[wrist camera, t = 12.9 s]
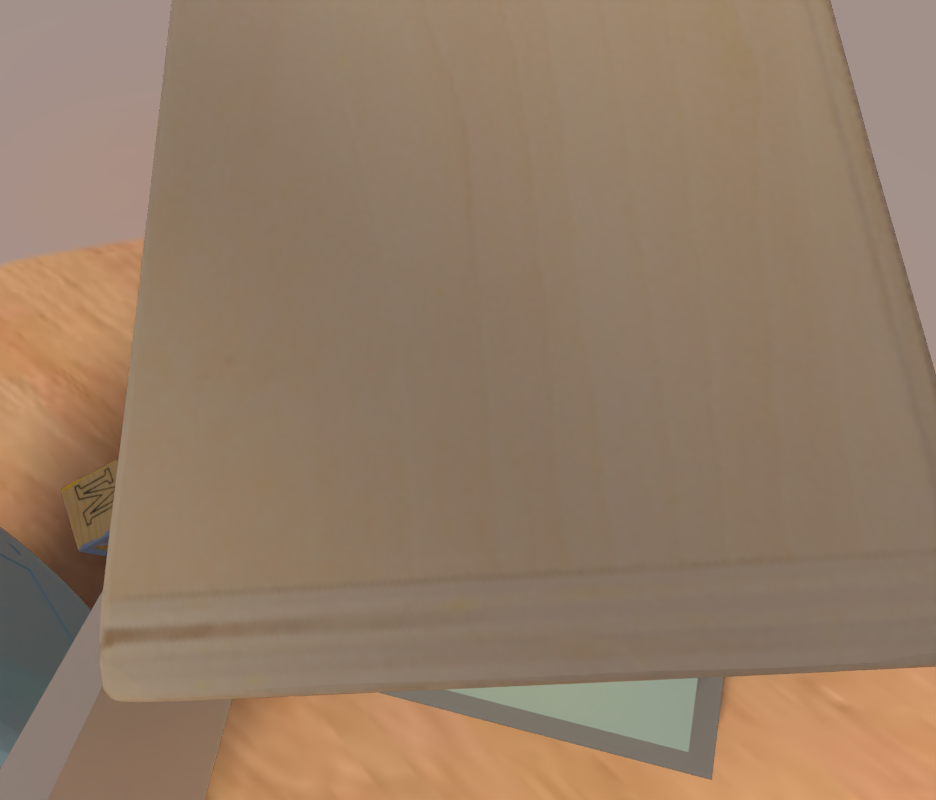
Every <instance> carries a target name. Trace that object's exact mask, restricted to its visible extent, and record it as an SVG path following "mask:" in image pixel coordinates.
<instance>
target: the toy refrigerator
mask: <svg viewBox="0 0 936 800" xmlns="http://www.w3.org/2000/svg"><path fill="white" fill-rule="evenodd" d="M98 658H99V664H100V670H101V676H102V683H103V689H104V690H105V692H106V693H107V694H108V696H109V697H110V698H112V699H114V700H116V701H120V702H170V701H193V700H217V699H240V698H263V697H287V696H310V695H332V694H355V693H377V692H399V691H422V690H444V689H466V688H488V687H511V686H533V685H555V684H577V683H600V682H622V681H643V680H665V679H687V678H708V677H729V676H751V675H772V674H793V673H814V672H835V671H855V670H876V669H896V668H917V667H936V374H935V370H934V367H933V363H932V360H931V356H930V353H929V350H928V346H927V343H926V339H925V335H924V332H923V328H922V325H921V321H920V318H919V314H918V311H917V307H916V304H915V301H914V298H913V294H912V290H911V287H910V283H909V280H908V276H907V273H906V269H905V266H904V262H903V259H902V255H901V252H900V249H899V245H898V242H897V238H896V235H895V231H894V228H893V224H892V221H891V217H890V214H889V211H888V207H887V203H886V200H885V196H884V193H883V190H882V186H881V183H880V179H879V176H878V172H877V169H876V165H875V162H874V158H873V154H872V151H871V147H870V143H869V140H868V136H867V133H866V129H865V125H864V121H863V118H862V115H861V111H860V107H859V104H858V100H857V96H856V93H855V89H854V85H853V82H852V78H851V74H850V71H849V67H848V63H847V60H846V56H845V53H844V49H843V45H842V42H841V38H840V34H839V31H838V27H837V23H836V20H835V16H834V13H833V9H832V5H831V1H830V0H172V4H171V12H170V21H169V30H168V39H167V48H166V57H165V66H164V74H163V84H162V93H161V102H160V110H159V118H158V127H157V136H156V145H155V153H154V162H153V170H152V179H151V188H150V196H149V205H148V214H147V222H146V231H145V240H144V248H143V257H142V266H141V274H140V283H139V292H138V300H137V309H136V318H135V326H134V335H133V343H132V352H131V360H130V368H129V376H128V385H127V393H126V401H125V409H124V418H123V426H122V434H121V442H120V451H119V459H118V467H117V476H116V484H115V492H114V500H113V509H112V517H111V525H110V533H109V542H108V551H107V560H106V569H105V577H104V586H103V595H102V604H101V620H100V636H99V653H98Z"/></svg>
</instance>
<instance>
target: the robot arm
mask: <svg viewBox="0 0 936 800" xmlns="http://www.w3.org/2000/svg"><path fill="white" fill-rule="evenodd" d="M102 595H103V591H102V592H101V594H100V596H99V598H98V599H97V601H96V603H95V605H94V606H93V608H92V610H90V609H89V607H88V606H87V605H86V604H85V603H84V602H83V601H82V600H81V598H80V597H79V596H78V595H77V594H76V593H75V592H74V591H73V590H72V589H71V588H70V587H69V586H68V585H67V584H66V583H65V582H64V581H63V580H62V579H61V578H60V577H59V576H58V575H57V574H56V573H55V572H54V571H53V570H52V569H50V568H49V567H48V566H47V565H46V564H45V563H44V562H43V561H41V560H40V559H39V558H38V557H37V556H36V555H35V554H34V553H32V552H31V551H30V550H29V549H28V548H26V547H25V546H24V545H23V544H22V543H20V542H19V541H18V540H17V539H16V538H14V537H13V536H12V535H10V534H9V533H8V532H7V531H5V530H4V529H3V528H1V527H0V800H205V797H206V793H207V790H208V786H209V782H210V779H211V775H212V771H213V768H214V764H215V760H216V756H217V753H218V749H219V745H220V742H221V738H222V734H223V731H224V727H225V723H226V720H227V716H228V712H229V709H230V705H231V700H230V699H217V700H193V701H170V702H120V701H116V700H114V699H112V698H110V697H109V696H108V694H107V693H106V692H105V690H104V689H103V683H102V676H101V670H100V664H99V658H98V653H99V636H100V620H101V604H102Z"/></svg>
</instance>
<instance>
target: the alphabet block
mask: <svg viewBox="0 0 936 800" xmlns="http://www.w3.org/2000/svg"><path fill="white" fill-rule="evenodd" d="M117 467H118V459H117V460H114V461H112V462H110V463H109V464H107V465H105V466H103V467H101V468H99V469H97V470H96V471H94V472H92V473H90V474H88V475H86V476H85V477H82V478H81V479H79V480H77V481H75V482H73V483H71V484H70V485H67V486H65V487H64V488H62V489H61V495H62V498H63V501H64V504H65V507H66V510H67V514H68V518H69V521H70V524H71V528H72V531H73V535H74V538H75V541H76V545H77V549H78V551H79V552H83V553H88V554H94V555H100V556H106V557H107V551H108V542H109V533H110V525H111V517H112V509H113V500H114V492H115V484H116V476H117Z"/></svg>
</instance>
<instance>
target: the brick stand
mask: <svg viewBox="0 0 936 800" xmlns="http://www.w3.org/2000/svg"><path fill="white" fill-rule="evenodd" d="M723 679H724V677H708V678H687V679H665V680H643V681H622V682H600V683H577V684H555V685H533V686H511V687H488V688H466V689H444V690H422V691H399V692H379V693H382V694H386V695H390V696H394V697H398V698H401V699H405V700H409V701H413V702H417V703H421V704H424V705H428V706H432V707H436V708H440V709H443V710H447V711H451V712H455V713H459V714H462V715H466V716H470V717H474V718H478V719H482V720H485V721H489V722H493V723H497V724H501V725H504V726H508V727H512V728H516V729H520V730H523V731H527V732H531V733H535V734H539V735H543V736H546V737H550V738H554V739H558V740H562V741H565V742H569V743H573V744H577V745H581V746H584V747H588V748H592V749H596V750H600V751H604V752H607V753H611V754H615V755H619V756H623V757H626V758H630V759H634V760H638V761H642V762H645V763H649V764H653V765H657V766H661V767H665V768H668V769H672V770H676V771H680V772H684V773H687V774H691V775H695V776H699V777H703V778H706V779H710V780H712V773H713V764H714V756H715V747H716V739H717V730H718V722H719V713H720V705H721V696H722V688H723Z"/></svg>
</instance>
